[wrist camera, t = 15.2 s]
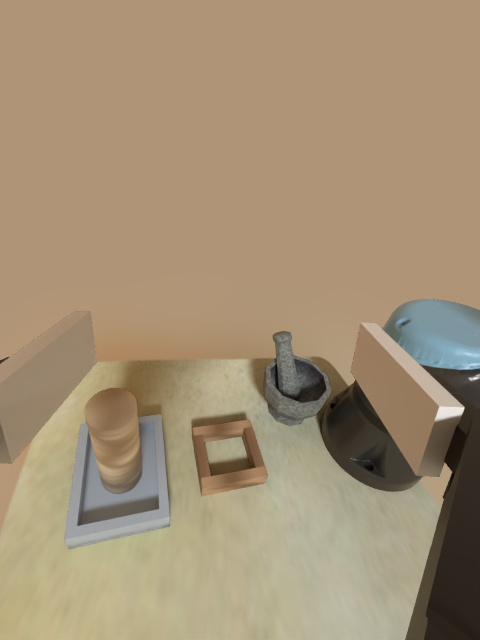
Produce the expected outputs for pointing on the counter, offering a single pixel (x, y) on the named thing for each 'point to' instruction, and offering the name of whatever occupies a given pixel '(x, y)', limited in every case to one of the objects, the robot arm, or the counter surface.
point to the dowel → (115, 438)
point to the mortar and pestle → (293, 384)
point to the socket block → (234, 478)
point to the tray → (118, 509)
